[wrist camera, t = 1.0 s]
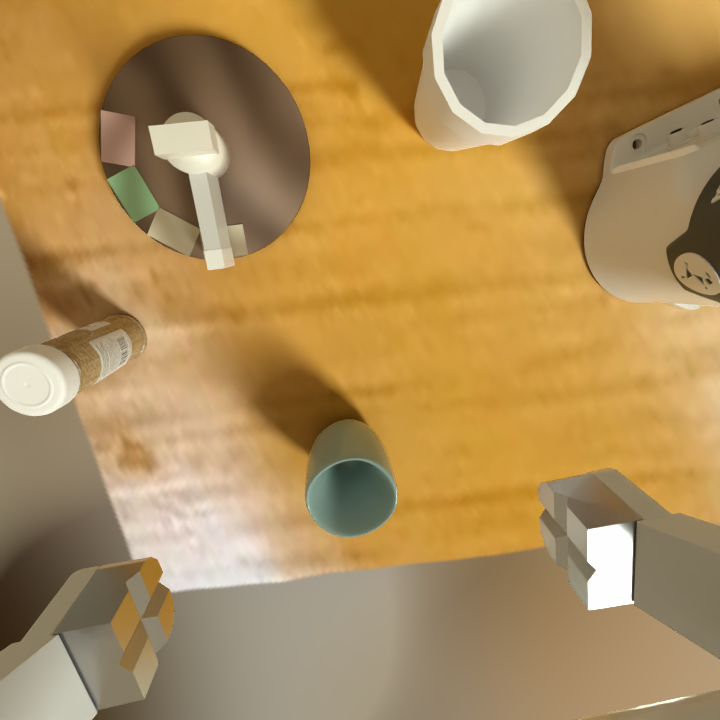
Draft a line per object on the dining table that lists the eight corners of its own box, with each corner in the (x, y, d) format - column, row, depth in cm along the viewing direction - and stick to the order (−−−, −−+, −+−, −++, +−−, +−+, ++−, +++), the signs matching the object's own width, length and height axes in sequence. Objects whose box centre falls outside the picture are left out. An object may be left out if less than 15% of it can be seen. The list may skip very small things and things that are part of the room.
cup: (295, 434, 44) (286, 489, 34) (358, 395, 43) (366, 440, 34) (336, 487, 46) (338, 553, 36) (396, 451, 45) (415, 508, 36)
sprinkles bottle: (104, 306, 39) (-6, 340, 26) (154, 324, 40) (70, 365, 27) (93, 350, 40) (-18, 405, 27) (142, 367, 41) (56, 427, 28)
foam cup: (375, 91, 36) (400, 12, 23) (469, 22, 35) (547, -98, 22) (432, 191, 38) (482, 169, 26) (520, 130, 37) (617, 76, 25)
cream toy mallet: (175, 130, 34) (144, 107, 28) (225, 124, 34) (204, 101, 28) (204, 268, 37) (181, 274, 31) (250, 263, 37) (235, 268, 31)
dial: (219, -9, 33) (215, -18, 32) (349, 182, 37) (349, 180, 36) (61, 131, 35) (51, 127, 33) (203, 296, 39) (199, 298, 38)
